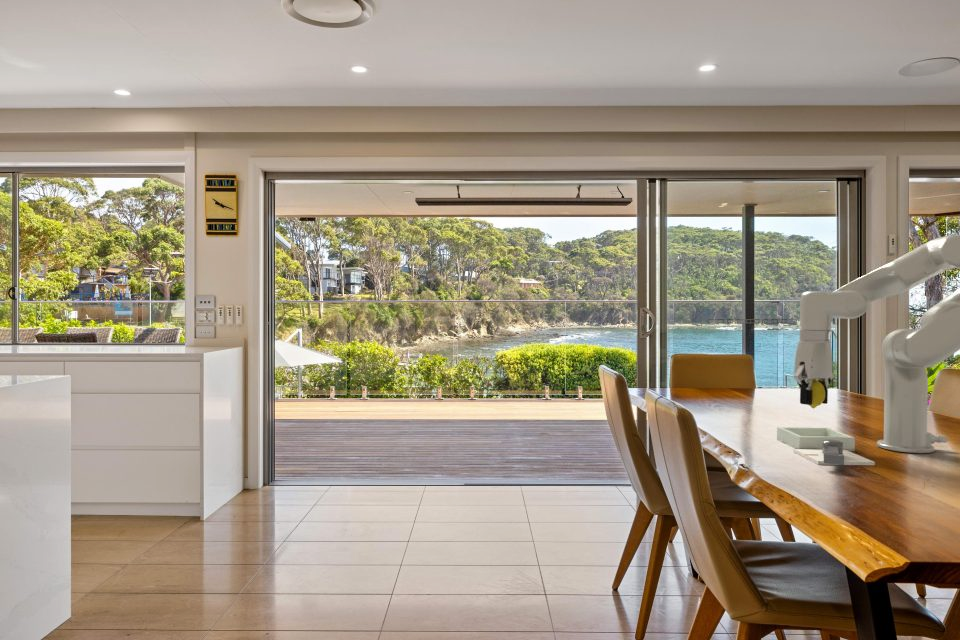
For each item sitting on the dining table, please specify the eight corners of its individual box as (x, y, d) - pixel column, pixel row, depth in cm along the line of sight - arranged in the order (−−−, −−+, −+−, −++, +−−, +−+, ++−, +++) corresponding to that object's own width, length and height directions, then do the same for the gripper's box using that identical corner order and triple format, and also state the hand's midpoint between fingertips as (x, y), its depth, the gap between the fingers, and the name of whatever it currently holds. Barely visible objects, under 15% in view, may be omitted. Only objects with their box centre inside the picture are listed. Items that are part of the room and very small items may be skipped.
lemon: (819, 407, 174) (820, 378, 174) (828, 410, 169) (829, 380, 168) (798, 406, 175) (799, 377, 174) (806, 409, 169) (807, 379, 169)
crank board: (845, 453, 162) (845, 449, 162) (874, 465, 149) (874, 461, 149) (793, 452, 163) (793, 448, 163) (817, 464, 150) (817, 460, 150)
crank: (822, 450, 159) (822, 439, 159) (842, 452, 157) (842, 440, 157) (822, 465, 144) (822, 451, 144) (845, 467, 142) (845, 454, 142)
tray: (827, 440, 178) (828, 427, 178) (854, 451, 164) (854, 437, 164) (776, 439, 179) (777, 427, 179) (799, 450, 165) (799, 436, 165)
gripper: (822, 336, 178) (821, 400, 179) (781, 336, 171) (780, 403, 171) (848, 337, 172) (847, 403, 172) (807, 337, 164) (805, 407, 164)
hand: (813, 403), depth 171 cm, fingers closed on lemon, 5 cm apart
